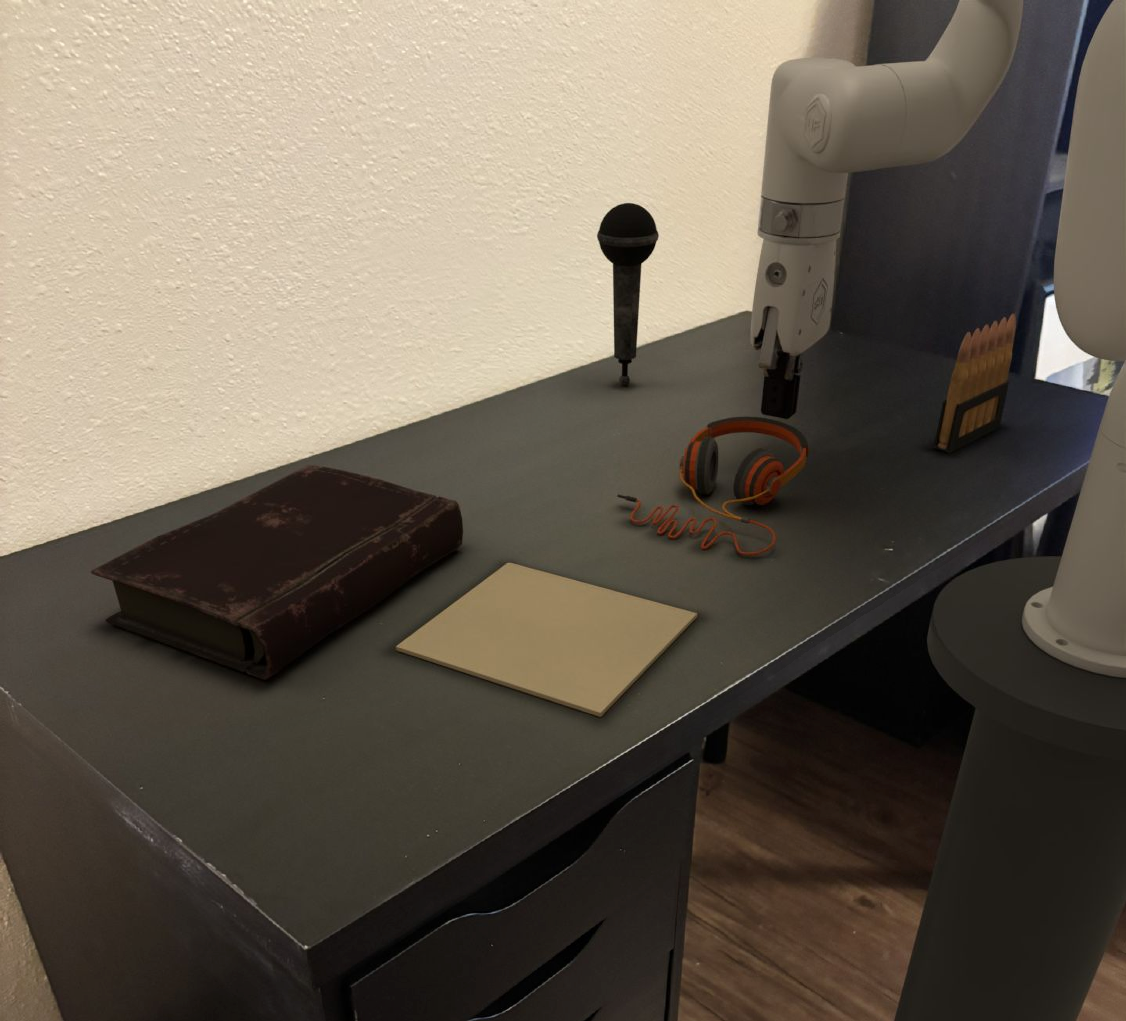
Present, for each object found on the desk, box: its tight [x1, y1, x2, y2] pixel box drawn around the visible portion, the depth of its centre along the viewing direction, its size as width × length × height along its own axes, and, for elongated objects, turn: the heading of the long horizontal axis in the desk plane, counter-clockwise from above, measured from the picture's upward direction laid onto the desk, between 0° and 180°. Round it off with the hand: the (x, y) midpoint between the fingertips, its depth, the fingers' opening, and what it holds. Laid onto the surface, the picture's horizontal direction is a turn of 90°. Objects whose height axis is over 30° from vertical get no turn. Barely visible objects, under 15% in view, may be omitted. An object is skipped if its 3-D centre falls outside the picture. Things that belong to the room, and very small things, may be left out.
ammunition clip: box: [932, 313, 1017, 454], centre depth 115 cm, size 11×2×12 cm, turn 134°
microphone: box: [596, 202, 659, 387], centre depth 127 cm, size 7×7×20 cm
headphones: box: [616, 416, 810, 556], centre depth 104 cm, size 17×5×20 cm
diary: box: [90, 464, 464, 681], centre depth 92 cm, size 19×25×5 cm
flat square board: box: [395, 562, 698, 718], centre depth 87 cm, size 18×16×1 cm
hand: (778, 414), depth 112 cm, fingers closed
